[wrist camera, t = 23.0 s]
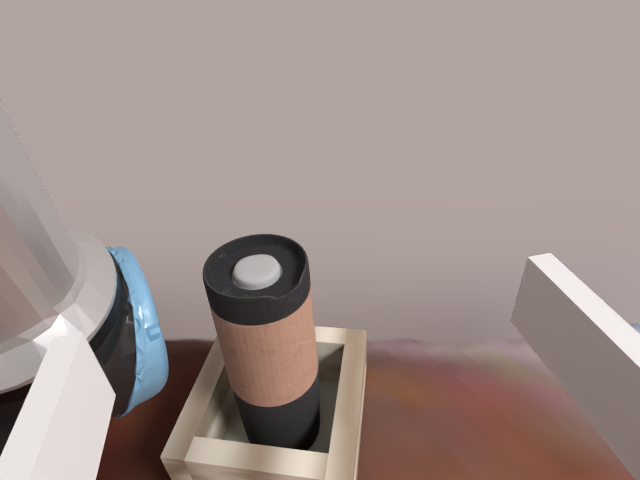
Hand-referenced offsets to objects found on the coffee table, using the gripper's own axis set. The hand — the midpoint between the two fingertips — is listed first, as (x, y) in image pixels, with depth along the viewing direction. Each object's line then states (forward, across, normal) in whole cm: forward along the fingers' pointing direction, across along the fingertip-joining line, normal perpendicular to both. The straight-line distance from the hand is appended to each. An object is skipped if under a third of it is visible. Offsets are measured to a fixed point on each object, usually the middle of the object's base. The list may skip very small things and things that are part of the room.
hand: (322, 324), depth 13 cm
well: (+16, -2, -30) cm, 33 cm away
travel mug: (+15, -2, -29) cm, 33 cm away
